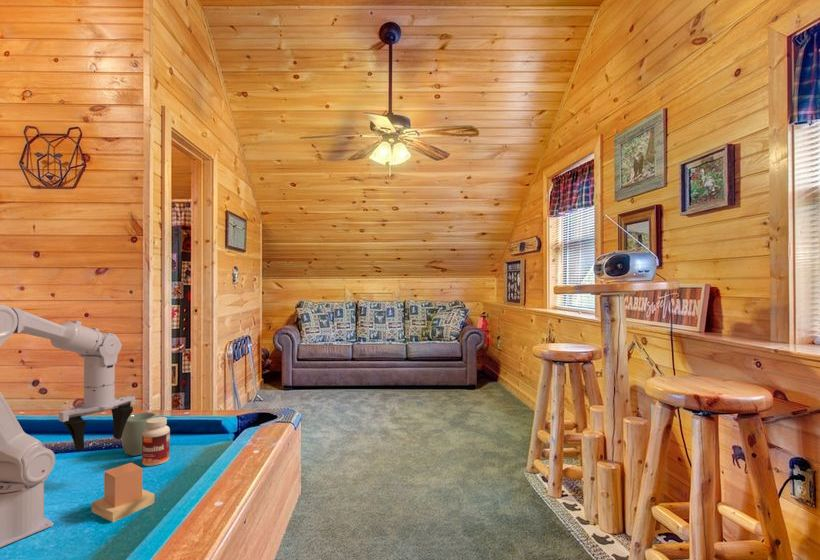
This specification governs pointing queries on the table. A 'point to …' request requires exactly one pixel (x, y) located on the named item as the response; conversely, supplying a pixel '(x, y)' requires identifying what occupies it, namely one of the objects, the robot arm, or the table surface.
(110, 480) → the terracotta block
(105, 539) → the table surface
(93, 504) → the maple slab
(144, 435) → the pill bottle
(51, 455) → the robot arm
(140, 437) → the cup
